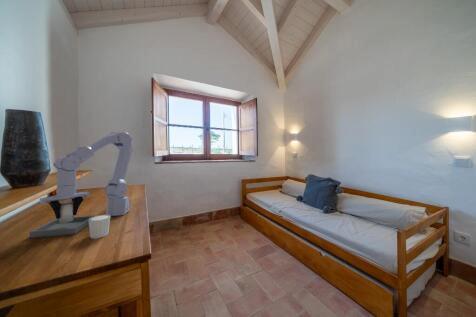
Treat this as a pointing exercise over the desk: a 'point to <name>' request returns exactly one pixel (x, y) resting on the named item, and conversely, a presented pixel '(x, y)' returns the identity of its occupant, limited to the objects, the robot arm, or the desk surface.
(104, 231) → the white cup
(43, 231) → the tray
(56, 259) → the desk surface
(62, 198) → the robot arm
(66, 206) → the shaker
